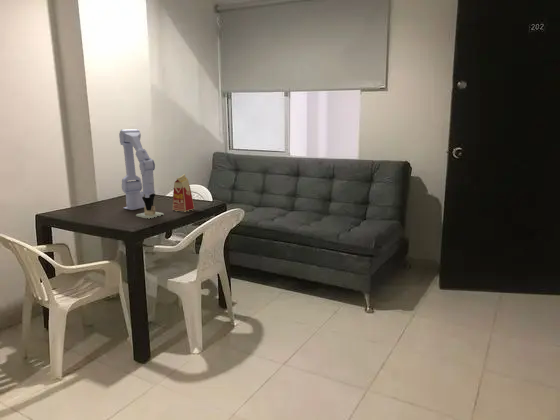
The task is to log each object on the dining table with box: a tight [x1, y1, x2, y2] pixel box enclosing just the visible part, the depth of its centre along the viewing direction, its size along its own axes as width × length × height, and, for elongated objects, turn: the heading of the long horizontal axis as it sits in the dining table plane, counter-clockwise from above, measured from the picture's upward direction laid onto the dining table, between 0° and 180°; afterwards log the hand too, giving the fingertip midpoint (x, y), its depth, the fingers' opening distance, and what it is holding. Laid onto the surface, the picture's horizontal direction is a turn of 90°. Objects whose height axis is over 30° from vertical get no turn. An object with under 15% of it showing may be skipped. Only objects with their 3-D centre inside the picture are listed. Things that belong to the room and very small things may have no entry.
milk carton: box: [172, 173, 195, 213], centre depth 256 cm, size 9×9×20 cm
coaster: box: [135, 211, 165, 220], centre depth 245 cm, size 10×10×1 cm
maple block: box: [143, 205, 156, 215], centre depth 245 cm, size 4×4×4 cm
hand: (149, 208), depth 245 cm, fingers open, 6 cm apart
